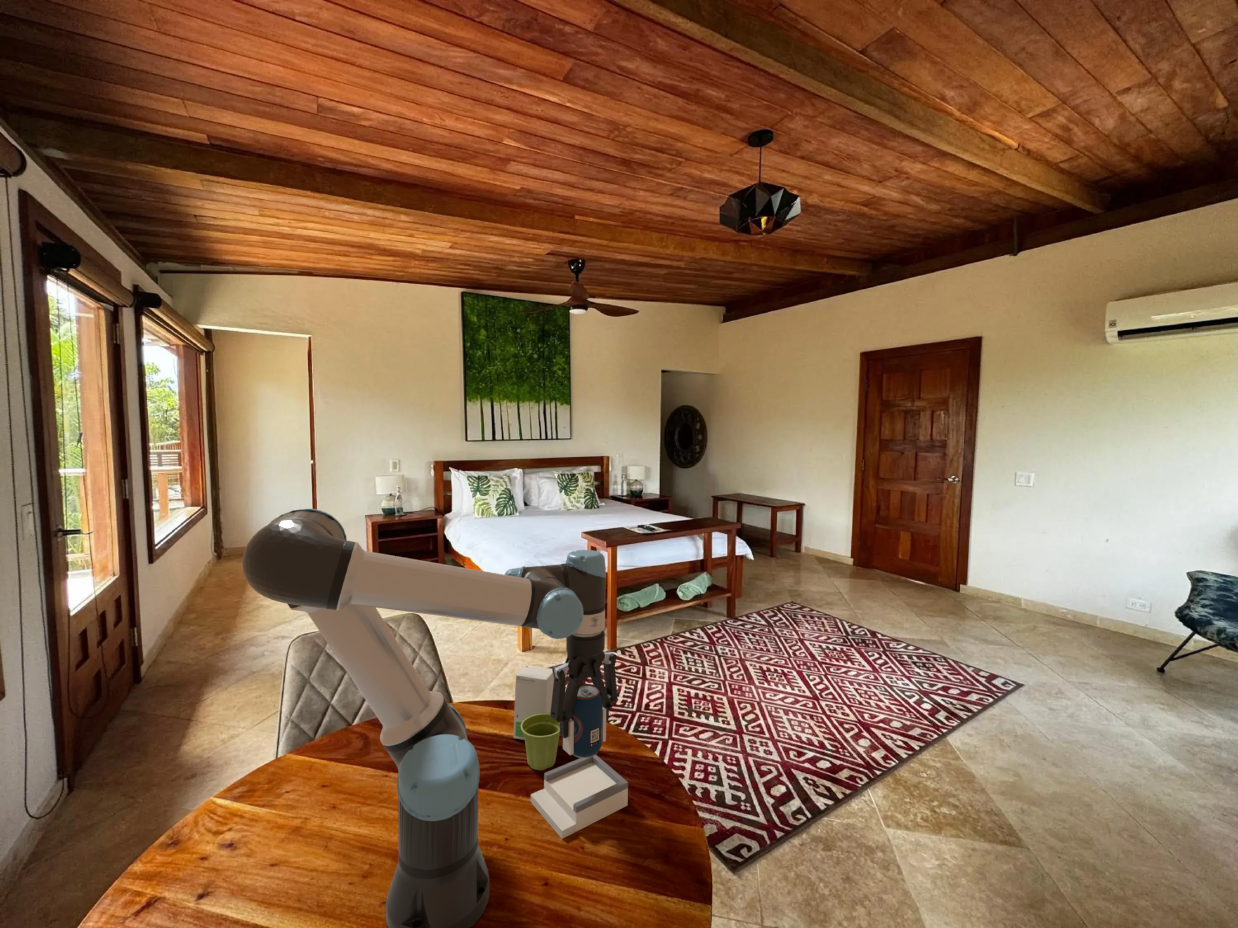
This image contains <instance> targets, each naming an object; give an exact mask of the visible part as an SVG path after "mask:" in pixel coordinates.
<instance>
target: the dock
mask: <svg viewBox="0 0 1238 928" xmlns="http://www.w3.org/2000/svg"><path fill="white" fill-rule="evenodd" d="M628 793H629V782H628V781H627V780H626V779H625V778H623V776H621V774H619V773H618V772H617V771H616V770H614V769H613V768H612V767H611V766H610V765H609V764H608V763H606V762H605V761H604V760H603V759H602V758H601V757H599V756H598V755H597V754H596V755H594V756H592V757H589V758H578V759H575V760H573V761H570V762H568V763H565V764H563V765H561V766H558V767H556V768H554V769H551V770H548V771H546V772H544V774H543V789H540V790H538V791H535V792H533V793H531V794H530V803H531V804H532V805H533V807H535V810H537V811H538V812H539V814H540V815H541V817H543V819H544V820H545V821H546V822H547V823H548V824H549V825H550V827H551V828H552V829H553V830H554V831H555V833H556V834H557V835H558V837H559V838H560V839H562V840H563V839H565V838H566V837H569V836H570V835H573V834H575V833H577V832H578V831H580V830H583V829H584V828H586V827H588V826H590V825H592V824H594V823H597V822H598V821H600V820H601V819H603V818H605V817H608V816H610V815H612V814H613V813H616V812H618V811H619V810H621V809H623V808H625V807H627V806H628V802H629V801H628V799H629V795H628Z"/></svg>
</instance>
